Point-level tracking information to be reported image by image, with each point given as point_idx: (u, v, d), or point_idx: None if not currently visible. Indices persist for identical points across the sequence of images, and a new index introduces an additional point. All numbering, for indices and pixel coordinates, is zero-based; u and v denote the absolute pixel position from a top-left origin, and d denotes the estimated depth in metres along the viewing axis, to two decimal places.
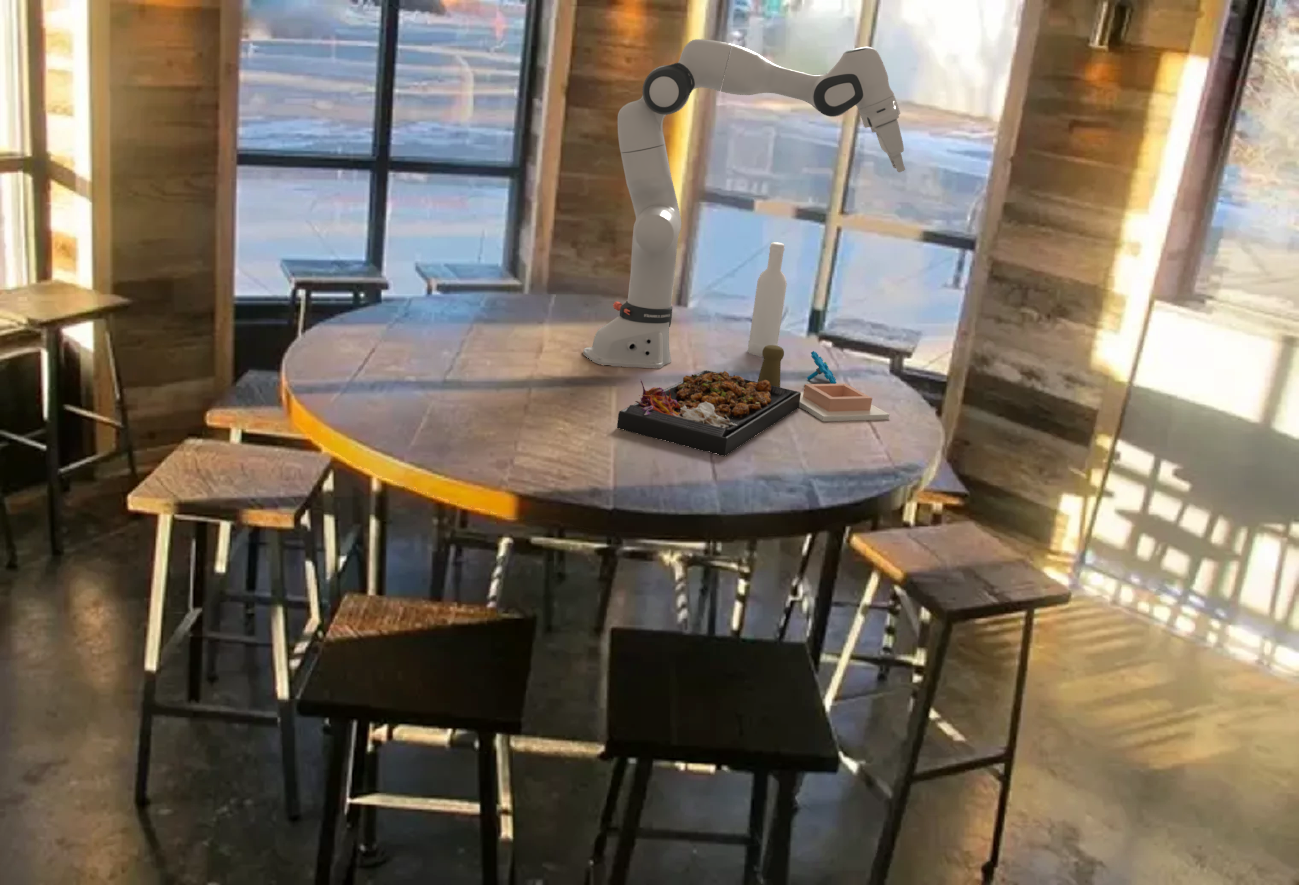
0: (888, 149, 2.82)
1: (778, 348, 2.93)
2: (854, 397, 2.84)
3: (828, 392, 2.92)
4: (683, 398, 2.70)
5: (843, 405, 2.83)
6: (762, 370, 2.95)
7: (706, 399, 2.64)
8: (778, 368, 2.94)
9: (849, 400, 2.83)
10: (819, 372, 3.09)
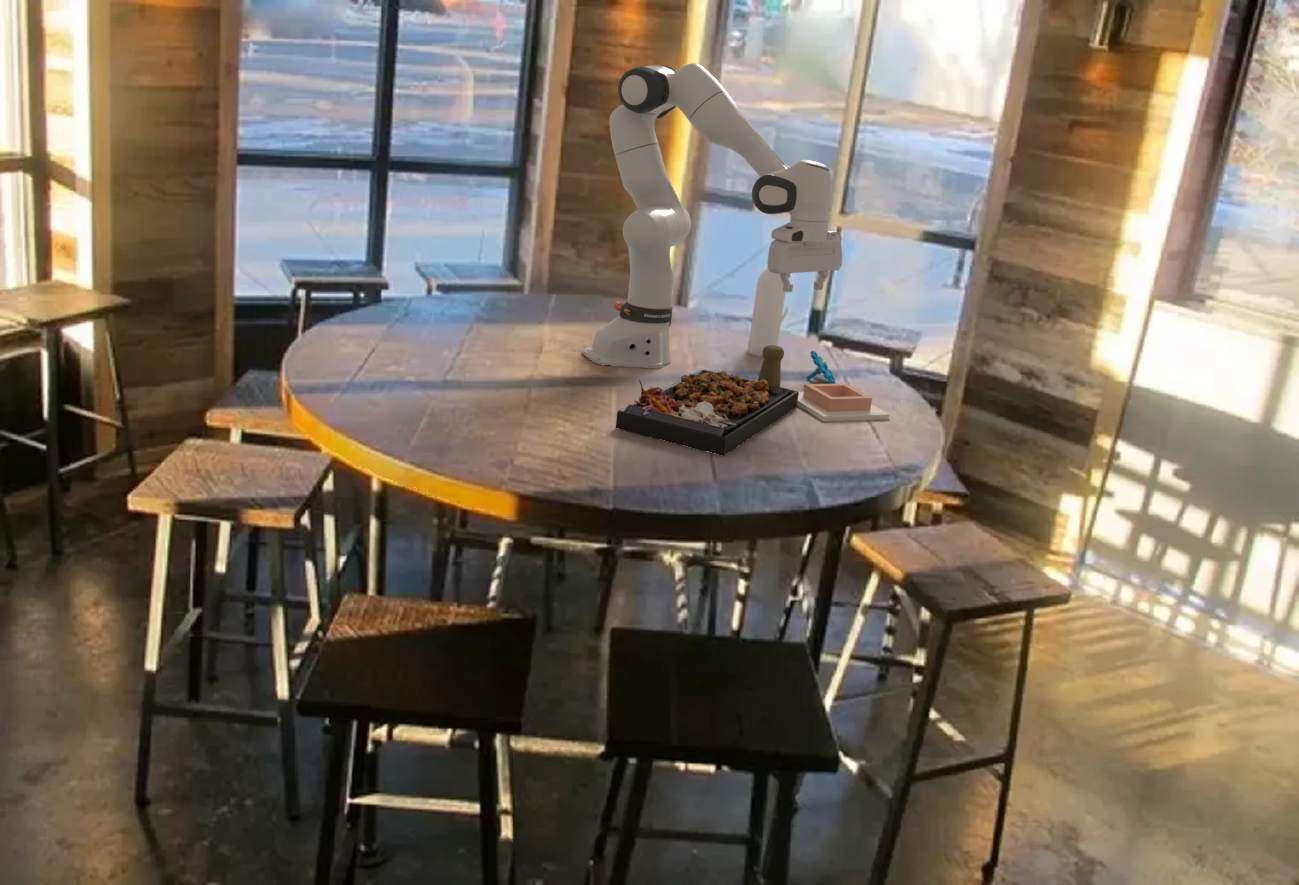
0: None
1: (778, 348, 2.93)
2: (854, 397, 2.84)
3: (828, 392, 2.92)
4: (681, 398, 2.70)
5: (843, 405, 2.83)
6: (762, 370, 2.95)
7: (705, 399, 2.64)
8: (778, 368, 2.94)
9: (849, 400, 2.83)
10: (818, 372, 3.09)
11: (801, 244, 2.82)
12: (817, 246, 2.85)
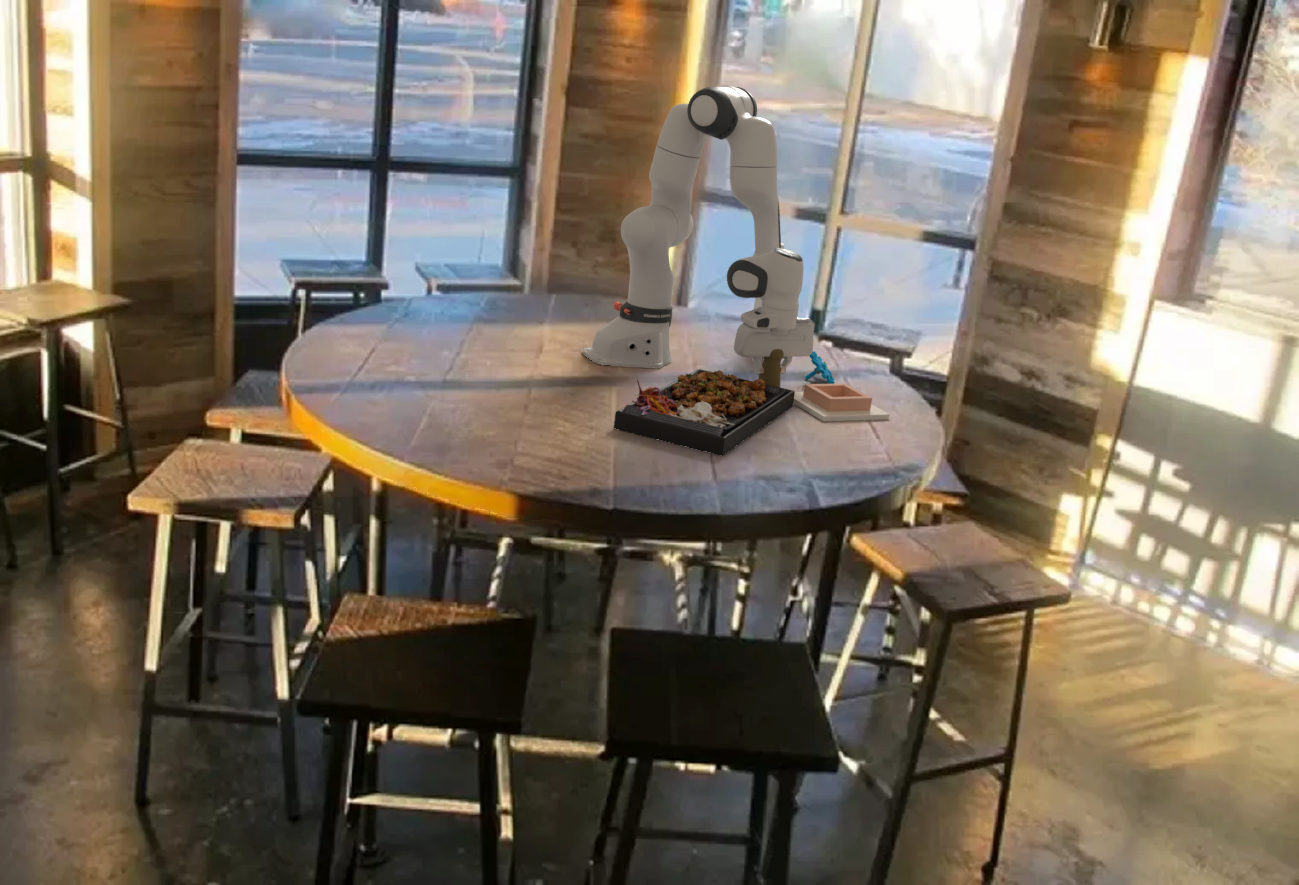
0: (734, 346, 2.91)
1: None
2: (854, 397, 2.84)
3: (828, 392, 2.92)
4: (679, 397, 2.69)
5: (843, 405, 2.83)
6: None
7: (702, 399, 2.64)
8: (778, 368, 2.94)
9: (849, 400, 2.83)
10: (817, 371, 3.09)
11: (767, 330, 2.89)
12: (784, 333, 2.91)
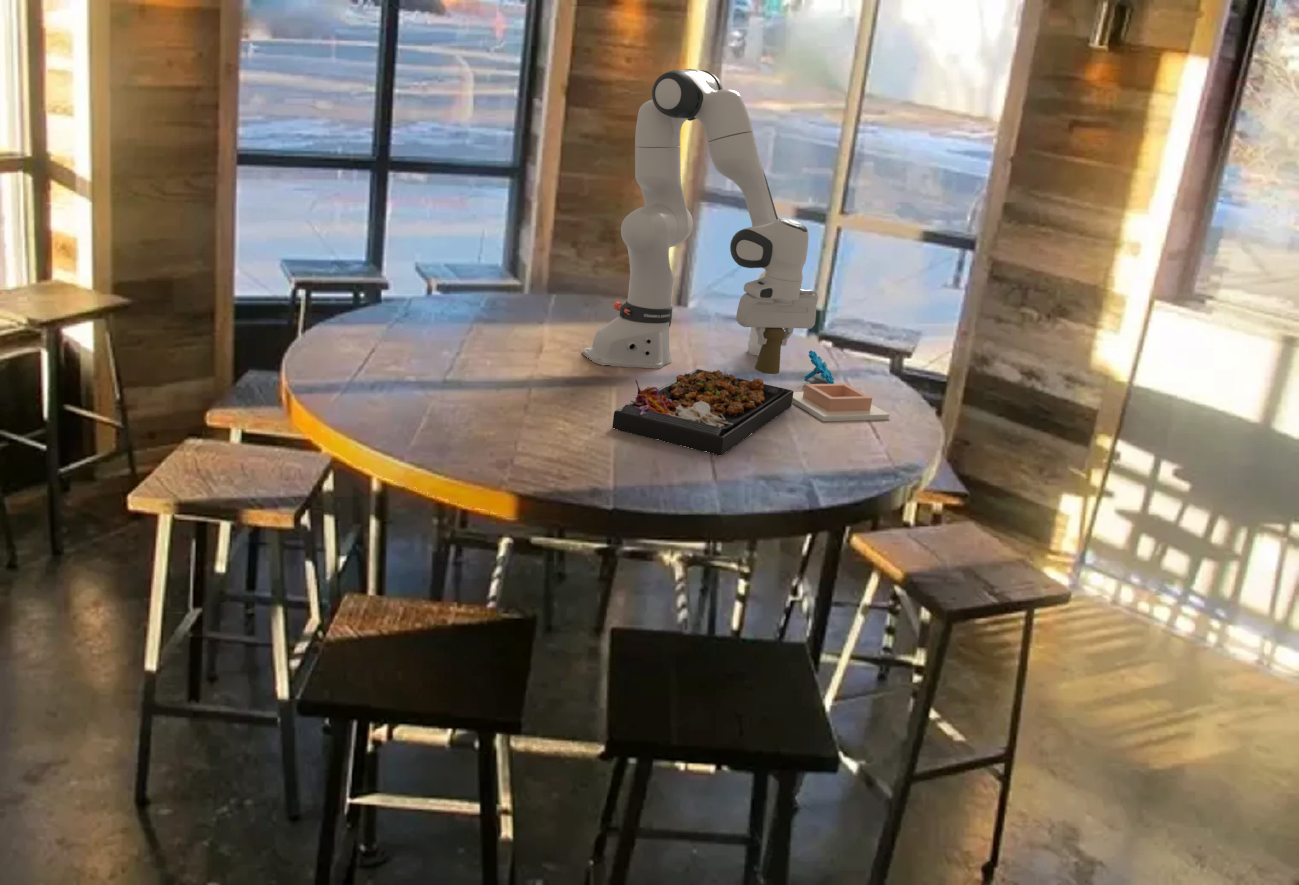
0: (736, 315, 2.89)
1: (779, 329, 2.92)
2: (854, 397, 2.84)
3: (828, 392, 2.92)
4: (677, 397, 2.69)
5: (843, 405, 2.83)
6: (762, 350, 2.94)
7: (701, 398, 2.64)
8: (778, 349, 2.93)
9: (849, 400, 2.83)
10: (816, 371, 3.09)
11: (770, 301, 2.87)
12: (787, 304, 2.88)
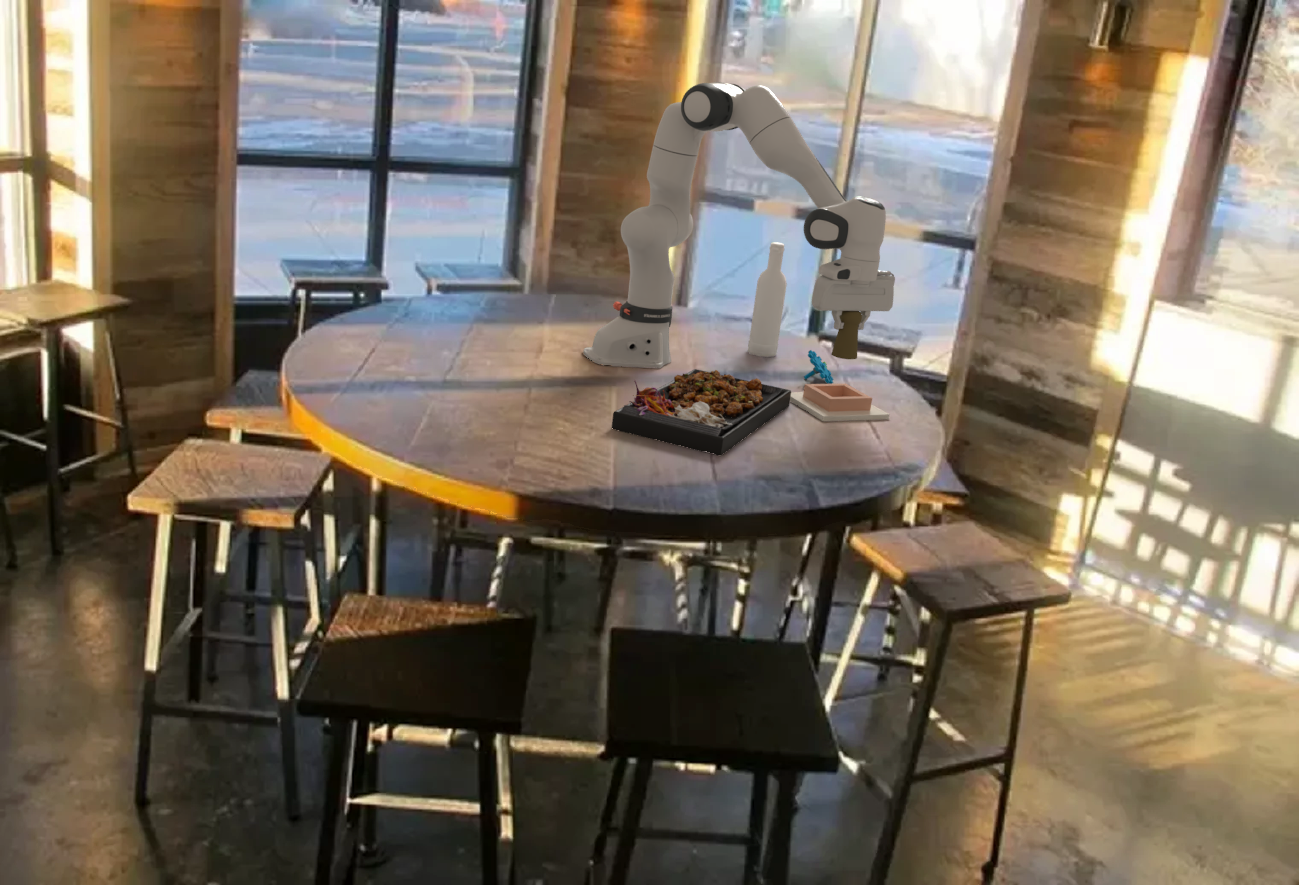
0: (812, 299, 2.78)
1: (856, 311, 2.80)
2: (854, 397, 2.84)
3: (828, 392, 2.92)
4: (676, 398, 2.69)
5: (843, 405, 2.83)
6: (839, 335, 2.82)
7: (699, 399, 2.64)
8: (856, 333, 2.82)
9: (849, 400, 2.83)
10: (816, 371, 3.09)
11: (847, 282, 2.75)
12: (865, 286, 2.77)
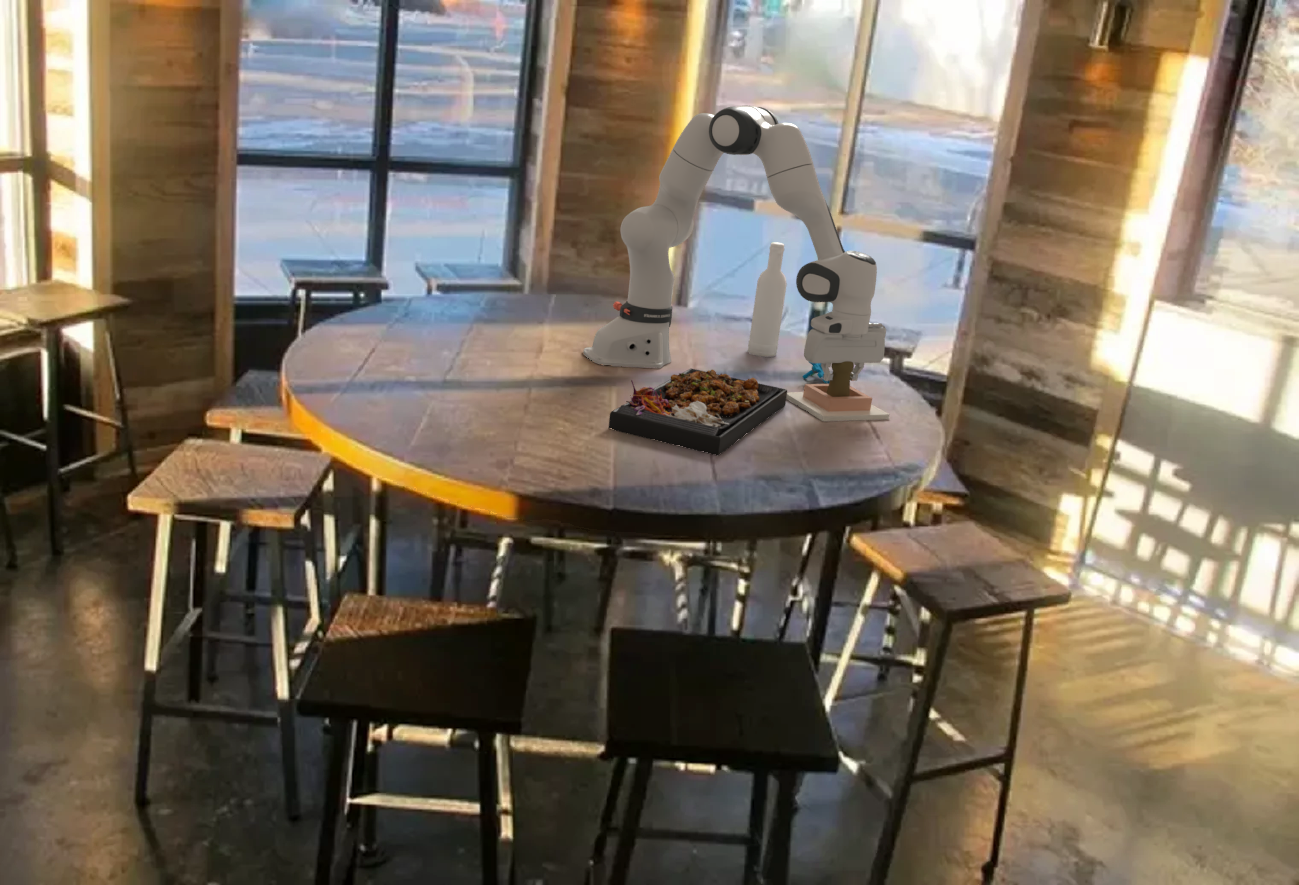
0: (804, 352, 2.82)
1: None
2: (854, 397, 2.84)
3: None
4: (672, 397, 2.69)
5: (843, 405, 2.83)
6: (831, 383, 2.86)
7: (696, 398, 2.64)
8: (848, 381, 2.85)
9: (849, 400, 2.83)
10: (814, 371, 3.09)
11: (839, 336, 2.79)
12: (856, 338, 2.81)
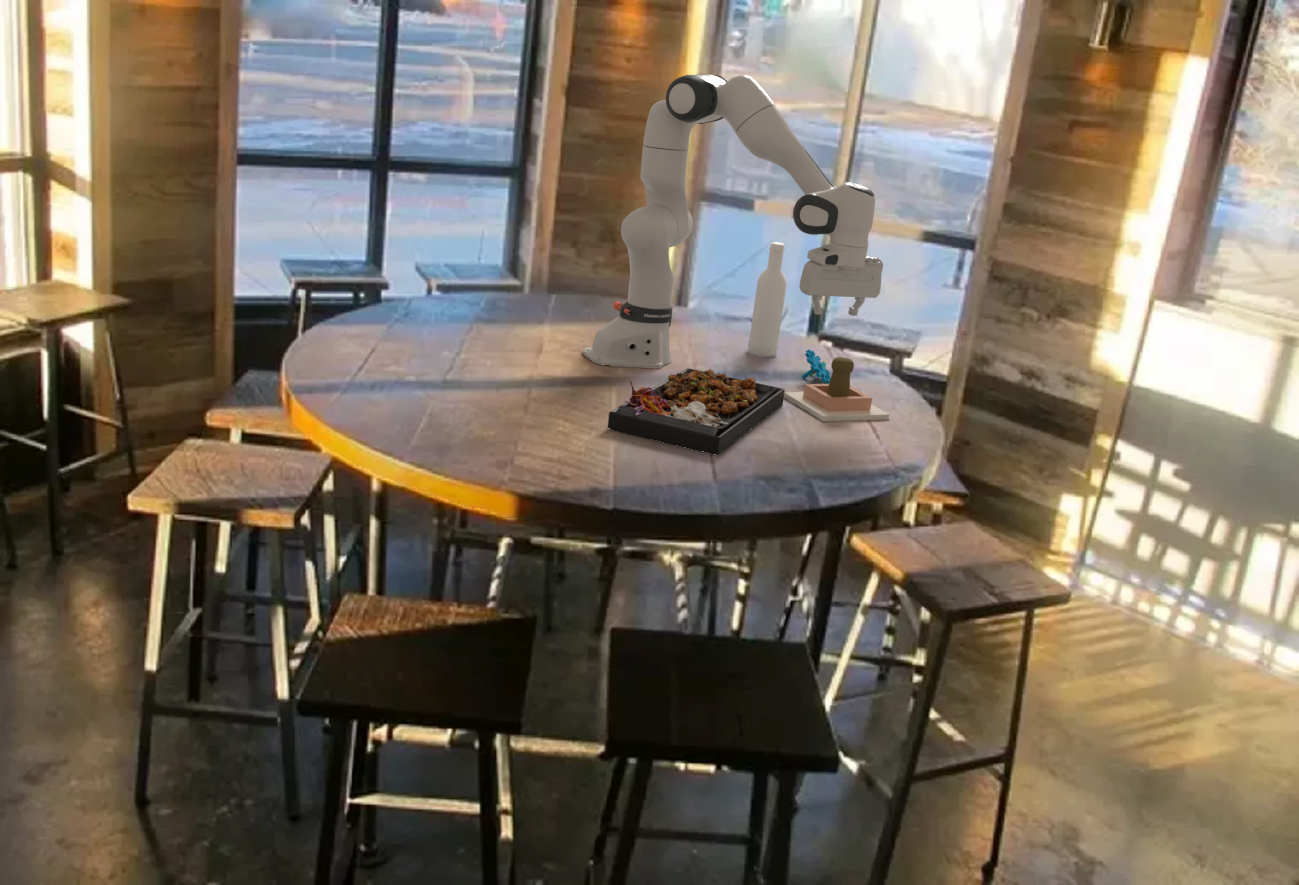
0: (800, 284, 2.80)
1: (848, 360, 2.84)
2: (854, 397, 2.84)
3: None
4: (670, 397, 2.69)
5: (843, 405, 2.83)
6: (831, 383, 2.86)
7: (695, 398, 2.64)
8: (848, 381, 2.85)
9: (849, 400, 2.83)
10: (813, 371, 3.10)
11: (835, 268, 2.77)
12: (853, 272, 2.79)
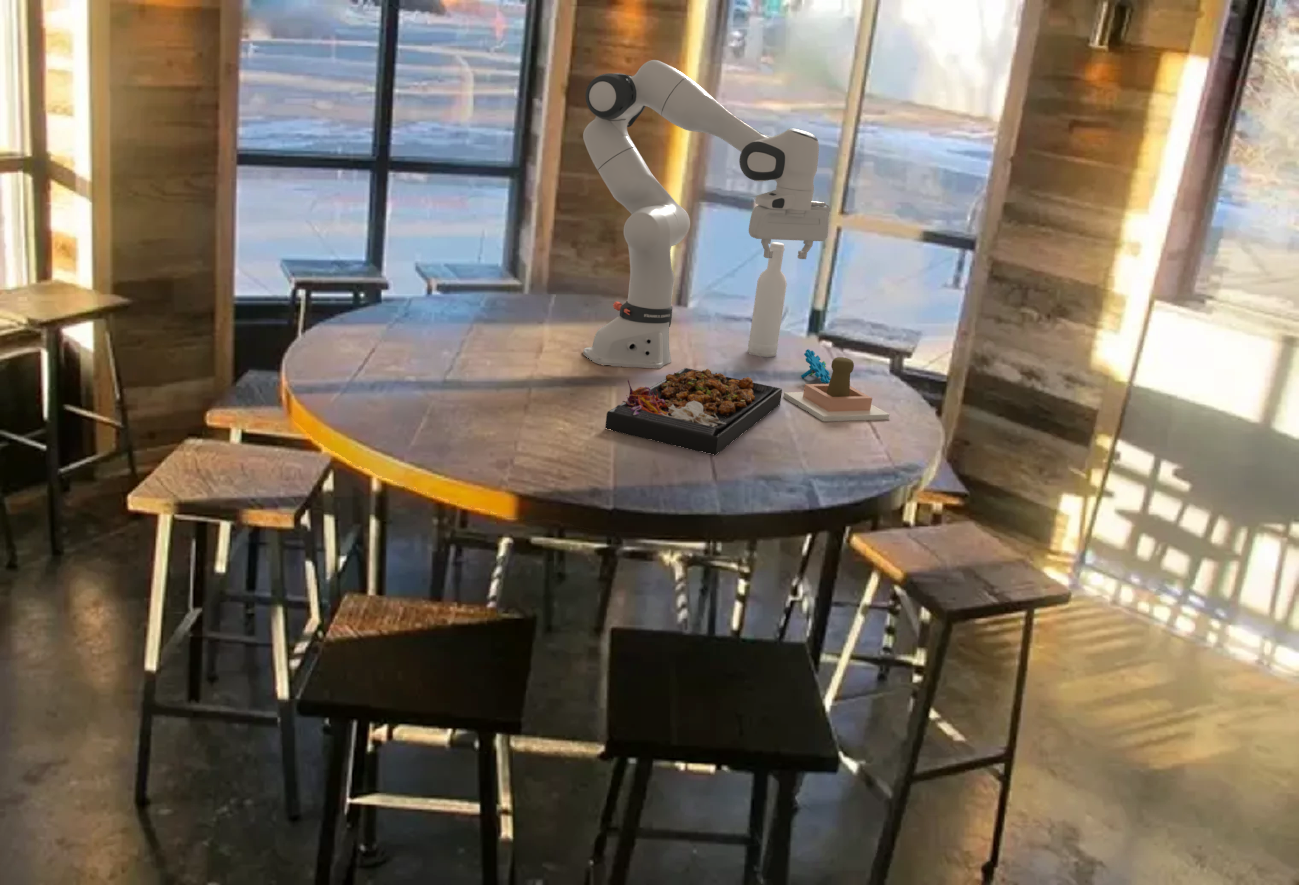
0: (749, 228, 2.89)
1: (848, 360, 2.84)
2: (854, 397, 2.84)
3: None
4: (668, 397, 2.69)
5: (843, 405, 2.83)
6: (831, 383, 2.86)
7: (692, 398, 2.64)
8: (848, 381, 2.85)
9: (849, 400, 2.83)
10: (812, 370, 3.10)
11: (782, 211, 2.86)
12: (800, 215, 2.88)
